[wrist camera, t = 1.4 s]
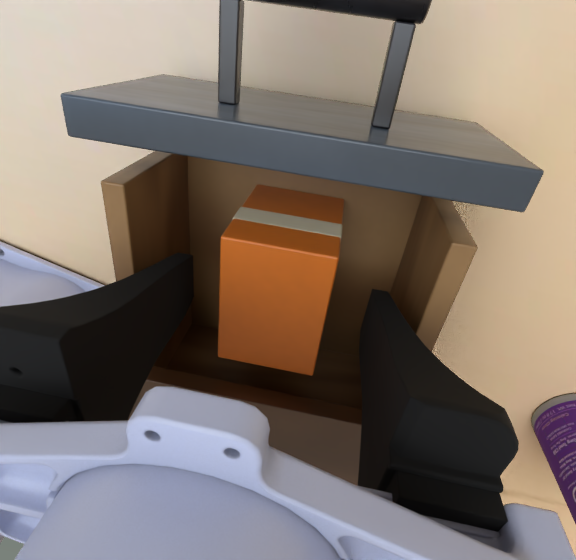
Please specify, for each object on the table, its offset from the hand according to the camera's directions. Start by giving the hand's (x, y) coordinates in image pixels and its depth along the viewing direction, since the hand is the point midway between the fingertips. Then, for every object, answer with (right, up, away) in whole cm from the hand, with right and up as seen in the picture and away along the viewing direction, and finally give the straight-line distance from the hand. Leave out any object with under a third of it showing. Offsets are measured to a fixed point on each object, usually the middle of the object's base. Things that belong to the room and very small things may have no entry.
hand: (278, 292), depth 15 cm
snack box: (+1, +2, +3) cm, 4 cm away
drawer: (+1, +4, +3) cm, 6 cm away
